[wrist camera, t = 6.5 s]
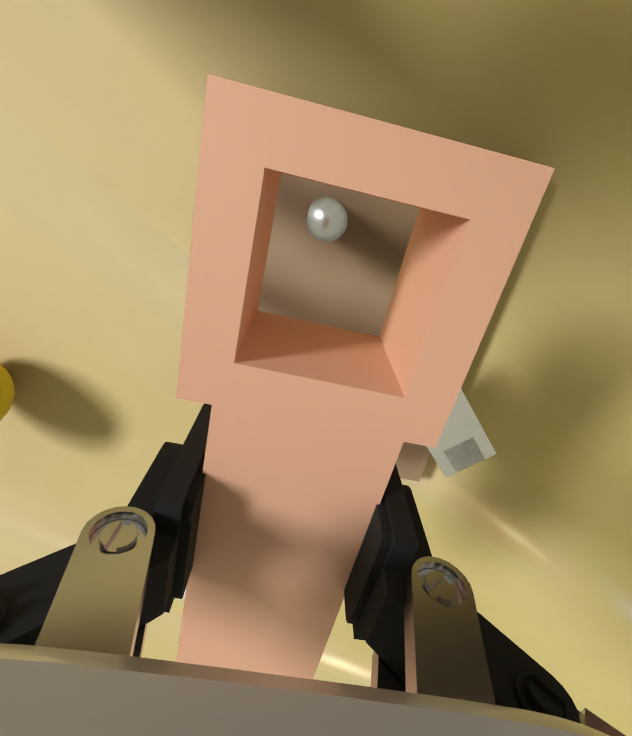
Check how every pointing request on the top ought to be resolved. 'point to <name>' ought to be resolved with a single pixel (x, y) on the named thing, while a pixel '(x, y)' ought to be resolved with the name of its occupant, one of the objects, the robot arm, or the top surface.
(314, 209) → the cylinder
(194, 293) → the link
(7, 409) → the lemon
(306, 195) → the walnut plate
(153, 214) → the top surface
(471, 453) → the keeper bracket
